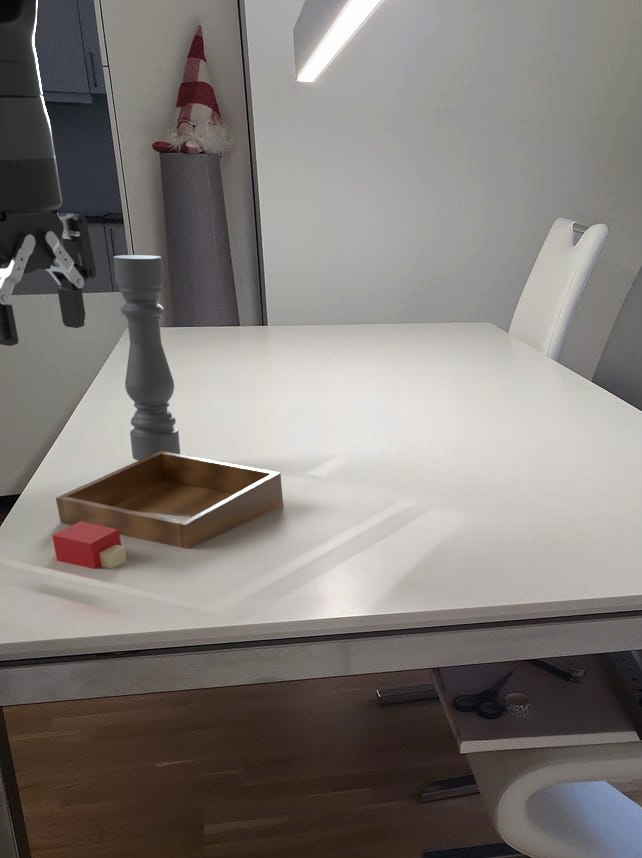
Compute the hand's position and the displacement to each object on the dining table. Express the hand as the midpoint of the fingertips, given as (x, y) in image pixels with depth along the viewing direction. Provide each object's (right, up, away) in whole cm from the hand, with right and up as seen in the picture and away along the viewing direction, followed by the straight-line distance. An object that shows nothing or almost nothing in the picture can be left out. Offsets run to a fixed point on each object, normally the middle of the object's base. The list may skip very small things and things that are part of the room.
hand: (42, 335), depth 101 cm
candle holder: (0, -5, +37) cm, 38 cm away
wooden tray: (+8, -16, +19) cm, 26 cm away
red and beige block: (+3, -23, +6) cm, 24 cm away
